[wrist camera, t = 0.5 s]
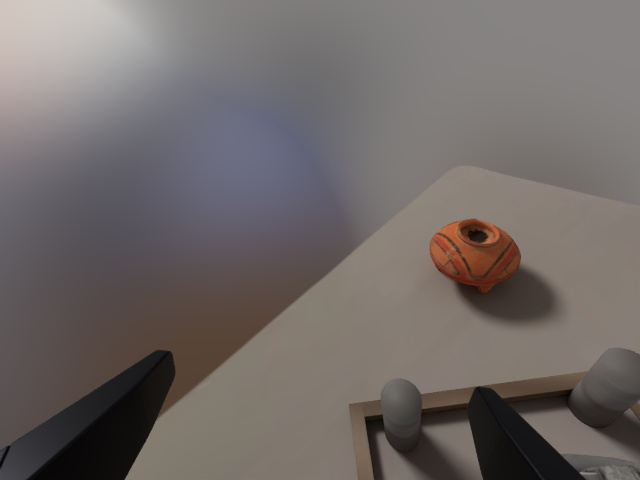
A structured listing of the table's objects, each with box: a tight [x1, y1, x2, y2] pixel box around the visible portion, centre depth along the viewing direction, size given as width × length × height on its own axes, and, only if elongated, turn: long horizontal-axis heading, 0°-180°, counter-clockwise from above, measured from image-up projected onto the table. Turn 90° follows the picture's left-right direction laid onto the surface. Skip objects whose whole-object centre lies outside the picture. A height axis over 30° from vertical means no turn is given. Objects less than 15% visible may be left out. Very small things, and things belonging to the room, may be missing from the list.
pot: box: [430, 219, 521, 294], centre depth 30 cm, size 8×8×7 cm
